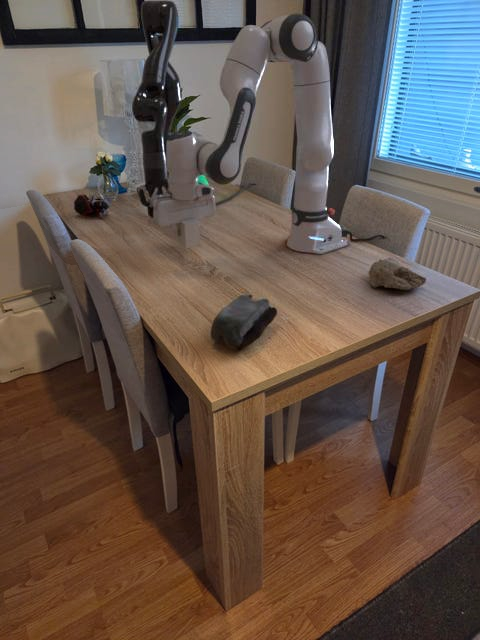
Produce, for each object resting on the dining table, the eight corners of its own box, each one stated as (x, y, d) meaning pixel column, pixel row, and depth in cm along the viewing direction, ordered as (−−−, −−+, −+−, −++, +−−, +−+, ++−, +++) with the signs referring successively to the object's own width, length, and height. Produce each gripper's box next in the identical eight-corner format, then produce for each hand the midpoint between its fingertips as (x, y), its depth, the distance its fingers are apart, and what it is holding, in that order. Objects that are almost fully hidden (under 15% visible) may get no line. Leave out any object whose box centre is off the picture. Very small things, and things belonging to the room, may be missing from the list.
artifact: (387, 301, 128) (428, 294, 133) (394, 279, 124) (436, 272, 129) (353, 270, 142) (391, 265, 147) (358, 249, 138) (397, 245, 142)
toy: (101, 187, 180) (72, 186, 186) (93, 207, 178) (64, 205, 183) (117, 205, 191) (89, 203, 196) (109, 223, 188) (82, 221, 194)
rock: (246, 362, 102) (246, 333, 98) (204, 348, 107) (203, 320, 103) (278, 325, 116) (280, 298, 112) (240, 314, 121) (241, 288, 116)
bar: (148, 223, 157) (146, 200, 153) (162, 220, 159) (160, 198, 155) (186, 248, 138) (184, 223, 133) (200, 244, 140) (199, 220, 136)
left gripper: (139, 170, 138) (145, 222, 147) (180, 164, 145) (183, 214, 154) (129, 165, 144) (136, 216, 153) (169, 160, 150) (173, 209, 160)
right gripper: (156, 198, 126) (160, 244, 133) (217, 187, 136) (218, 230, 143) (147, 193, 130) (152, 237, 137) (207, 183, 140) (208, 225, 147)
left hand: (159, 215), depth 153 cm, fingers closed on bar, 5 cm apart
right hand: (186, 234), depth 140 cm, fingers closed on bar, 5 cm apart
